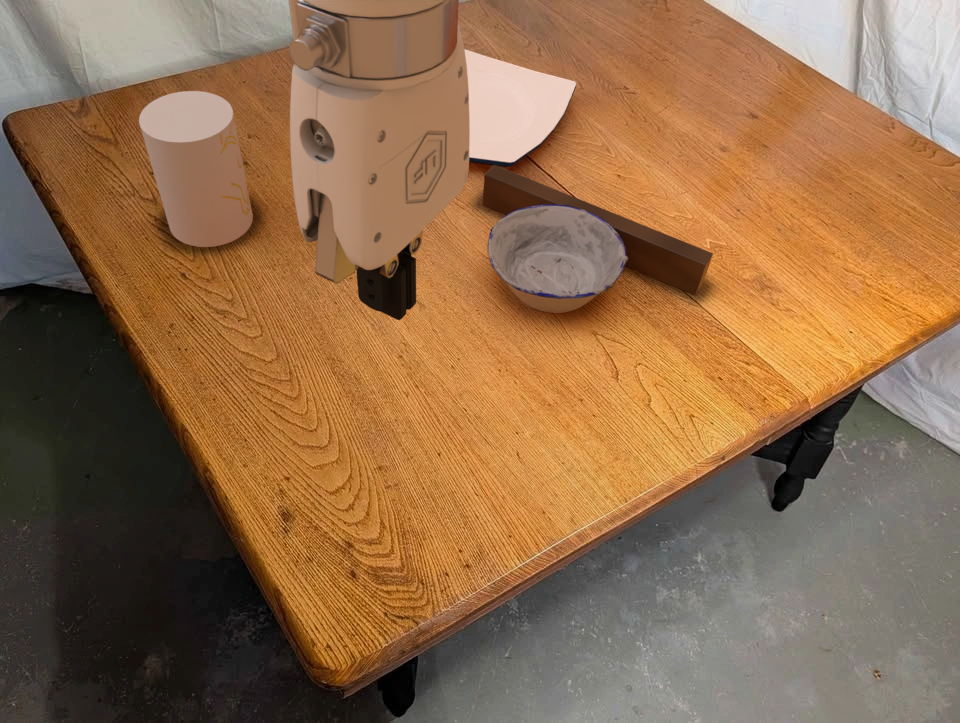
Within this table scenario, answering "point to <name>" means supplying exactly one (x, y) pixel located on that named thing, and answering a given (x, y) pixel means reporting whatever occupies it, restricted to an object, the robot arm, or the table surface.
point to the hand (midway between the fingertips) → (387, 303)
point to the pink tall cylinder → (197, 167)
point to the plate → (511, 109)
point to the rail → (642, 243)
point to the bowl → (556, 256)
